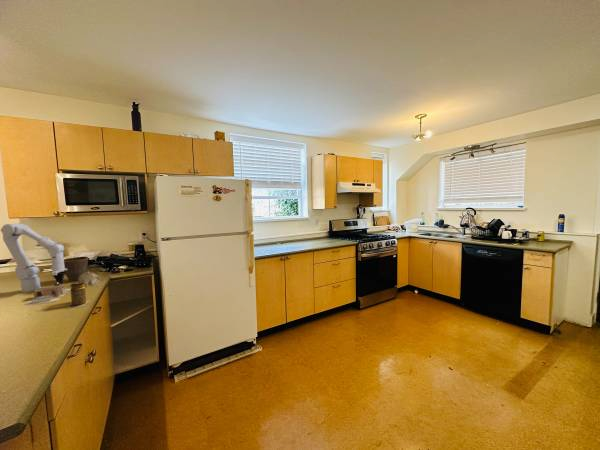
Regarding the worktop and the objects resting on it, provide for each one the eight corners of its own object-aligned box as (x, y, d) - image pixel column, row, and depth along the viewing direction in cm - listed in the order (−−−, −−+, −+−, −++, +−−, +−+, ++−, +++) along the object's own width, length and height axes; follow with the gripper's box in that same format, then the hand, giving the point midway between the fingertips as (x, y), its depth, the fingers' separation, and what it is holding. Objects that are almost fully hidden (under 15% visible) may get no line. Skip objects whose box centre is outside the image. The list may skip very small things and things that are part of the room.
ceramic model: (105, 283, 173) (104, 269, 172) (90, 289, 162) (88, 274, 161) (88, 283, 175) (86, 269, 174) (71, 288, 164) (70, 273, 163)
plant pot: (93, 279, 183) (91, 257, 182) (66, 285, 171) (64, 262, 169) (85, 276, 191) (83, 255, 190) (59, 281, 179) (57, 259, 177)
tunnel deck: (43, 293, 155) (42, 284, 155) (72, 289, 162) (71, 280, 161) (21, 308, 132) (19, 297, 132) (56, 303, 139) (55, 293, 138)
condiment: (89, 300, 142) (87, 280, 141) (84, 306, 135) (82, 284, 134) (72, 303, 139) (70, 282, 138) (66, 308, 131) (64, 286, 130)
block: (46, 296, 148) (45, 289, 147) (55, 294, 150) (54, 288, 149) (43, 298, 144) (42, 291, 144) (52, 297, 146) (51, 290, 146)
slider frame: (50, 290, 157) (49, 282, 156) (65, 288, 160) (64, 280, 160) (32, 302, 137) (31, 293, 136) (50, 300, 140) (49, 291, 139)
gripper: (61, 264, 156) (64, 285, 157) (70, 260, 169) (72, 279, 170) (46, 266, 153) (49, 287, 154) (56, 261, 166) (58, 281, 167)
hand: (60, 283), depth 162 cm, fingers closed
